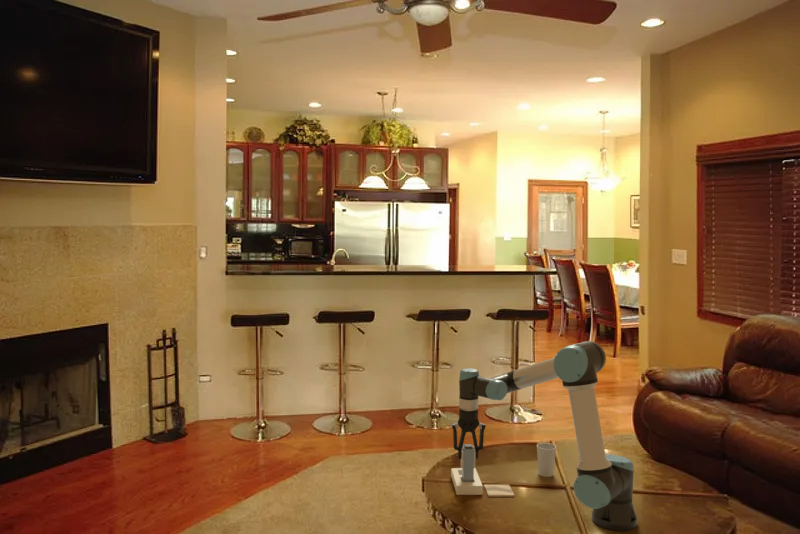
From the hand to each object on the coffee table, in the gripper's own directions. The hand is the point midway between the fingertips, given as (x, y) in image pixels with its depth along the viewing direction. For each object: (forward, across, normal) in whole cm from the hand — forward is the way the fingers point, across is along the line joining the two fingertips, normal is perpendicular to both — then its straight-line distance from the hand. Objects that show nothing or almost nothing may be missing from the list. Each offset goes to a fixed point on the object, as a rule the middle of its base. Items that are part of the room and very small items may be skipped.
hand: (467, 466), depth 257 cm
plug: (+5, 0, 0) cm, 5 cm away
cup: (+9, -35, -14) cm, 39 cm away
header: (+9, 0, -3) cm, 9 cm away
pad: (+9, -12, +3) cm, 15 cm away
